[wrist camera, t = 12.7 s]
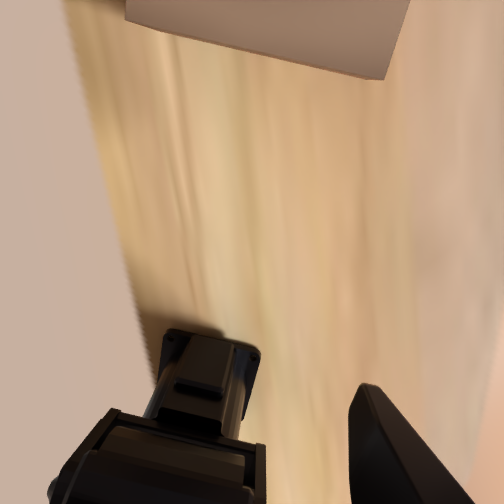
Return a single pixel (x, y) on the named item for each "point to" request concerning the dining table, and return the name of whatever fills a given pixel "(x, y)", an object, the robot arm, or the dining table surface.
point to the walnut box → (287, 29)
